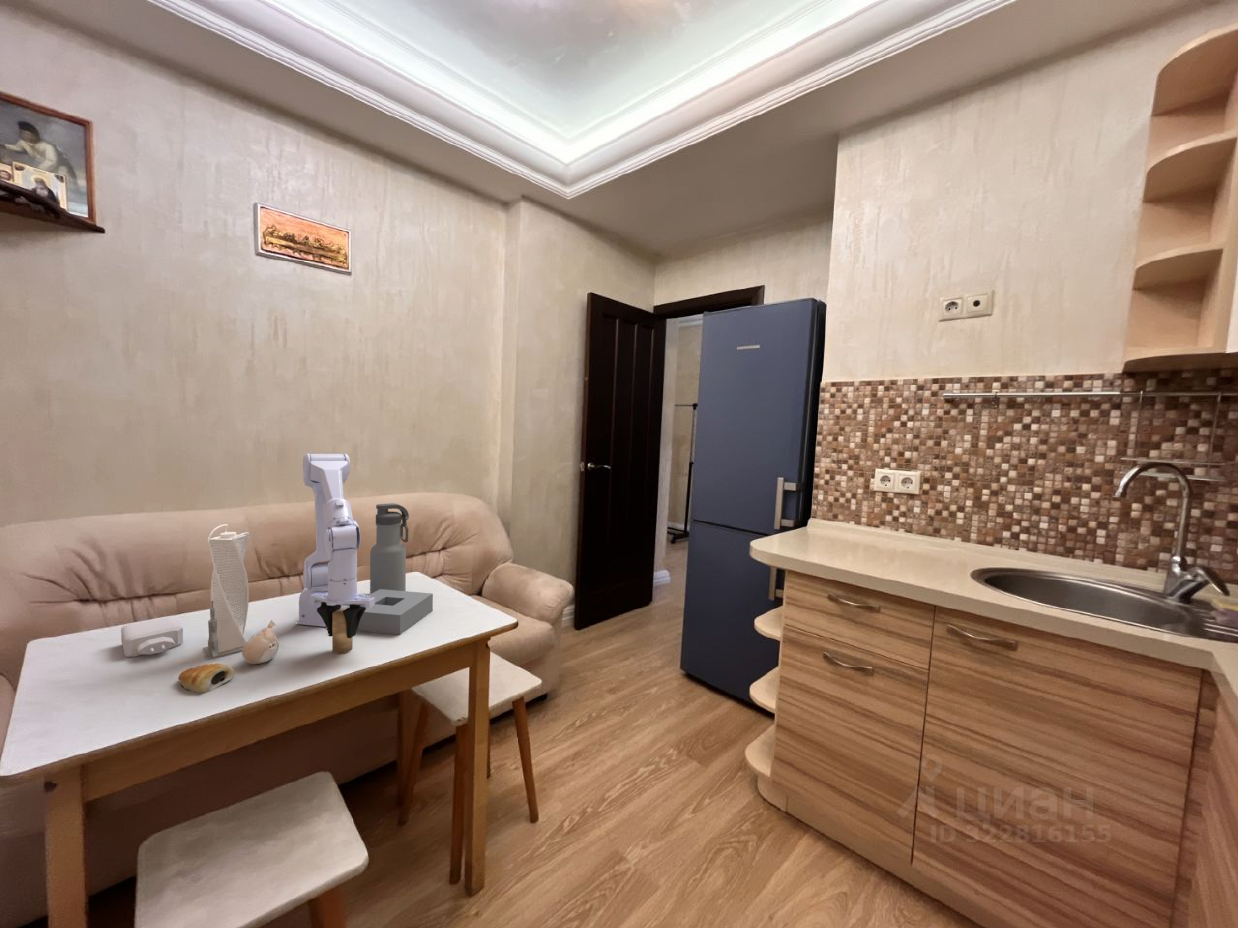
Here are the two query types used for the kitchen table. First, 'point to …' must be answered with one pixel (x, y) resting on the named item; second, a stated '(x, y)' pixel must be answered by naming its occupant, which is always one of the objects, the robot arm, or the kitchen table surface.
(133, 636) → the charger
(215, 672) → the pastry
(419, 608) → the socket block
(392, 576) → the water bottle
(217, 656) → the skyscraper
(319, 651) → the kitchen table surface
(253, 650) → the beige rounded figure
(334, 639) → the peg
